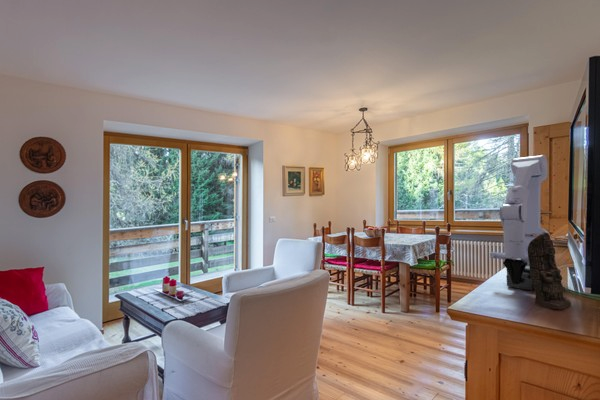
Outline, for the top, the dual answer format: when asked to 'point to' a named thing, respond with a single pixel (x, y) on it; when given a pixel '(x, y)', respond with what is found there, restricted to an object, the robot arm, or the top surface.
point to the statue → (546, 273)
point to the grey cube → (526, 274)
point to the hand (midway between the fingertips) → (516, 283)
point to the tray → (521, 283)
